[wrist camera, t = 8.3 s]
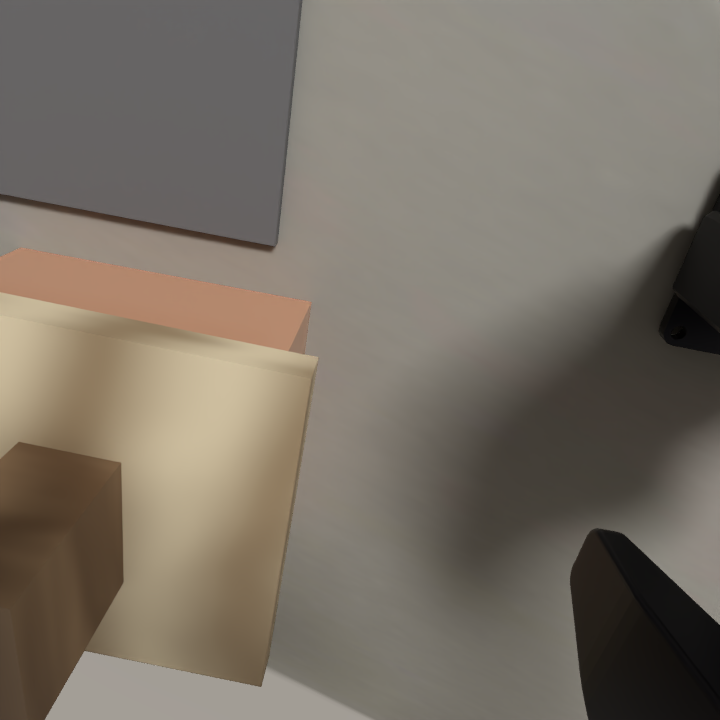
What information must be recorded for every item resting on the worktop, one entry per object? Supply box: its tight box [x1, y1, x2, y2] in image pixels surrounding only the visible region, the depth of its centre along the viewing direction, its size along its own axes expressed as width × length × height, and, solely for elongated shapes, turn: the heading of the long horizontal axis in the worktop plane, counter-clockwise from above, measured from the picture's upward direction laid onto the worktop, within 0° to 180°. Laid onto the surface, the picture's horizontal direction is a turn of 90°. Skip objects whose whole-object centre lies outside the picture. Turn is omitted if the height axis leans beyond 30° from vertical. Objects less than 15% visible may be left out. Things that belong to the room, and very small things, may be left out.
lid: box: [0, 292, 319, 720], centre depth 16 cm, size 13×13×6 cm
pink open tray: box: [0, 248, 311, 355], centre depth 21 cm, size 11×11×6 cm
